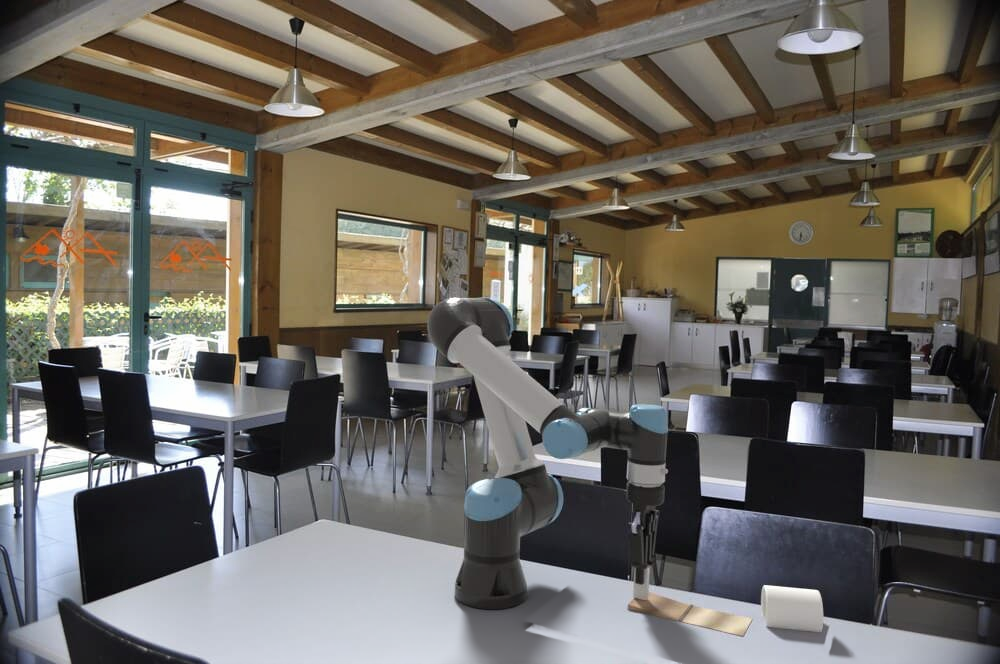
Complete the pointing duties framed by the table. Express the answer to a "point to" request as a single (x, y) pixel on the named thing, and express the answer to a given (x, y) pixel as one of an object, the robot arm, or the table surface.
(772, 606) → the mug
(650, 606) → the plank
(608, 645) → the table surface
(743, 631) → the floorboard
